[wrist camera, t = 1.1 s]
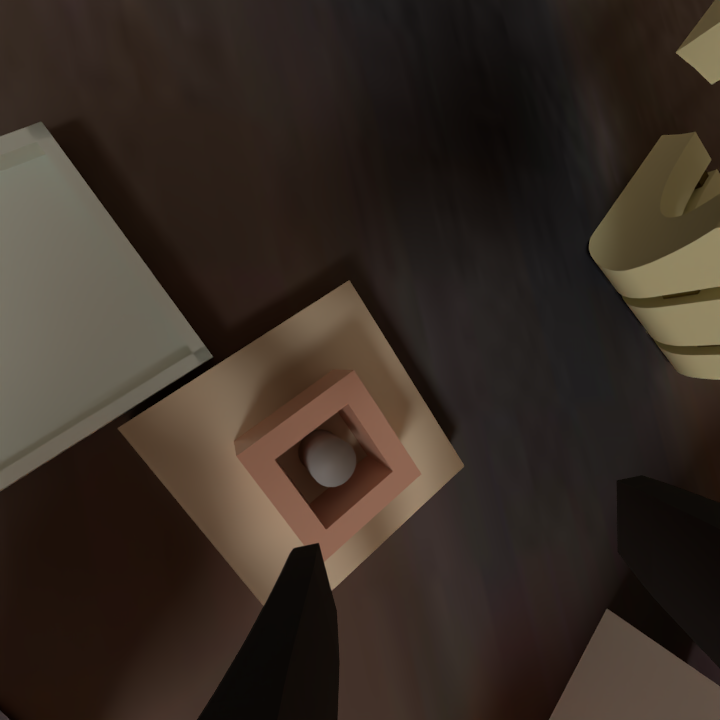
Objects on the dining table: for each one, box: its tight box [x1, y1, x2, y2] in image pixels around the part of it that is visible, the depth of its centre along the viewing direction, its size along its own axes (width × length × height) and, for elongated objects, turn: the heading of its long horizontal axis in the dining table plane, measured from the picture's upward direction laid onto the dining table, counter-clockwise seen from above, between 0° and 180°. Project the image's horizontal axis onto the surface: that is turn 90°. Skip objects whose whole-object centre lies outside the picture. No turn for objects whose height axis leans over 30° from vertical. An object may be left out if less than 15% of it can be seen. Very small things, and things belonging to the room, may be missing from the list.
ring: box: [234, 369, 421, 562], centre depth 17 cm, size 6×6×3 cm
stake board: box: [118, 280, 464, 606], centre depth 18 cm, size 12×12×4 cm
